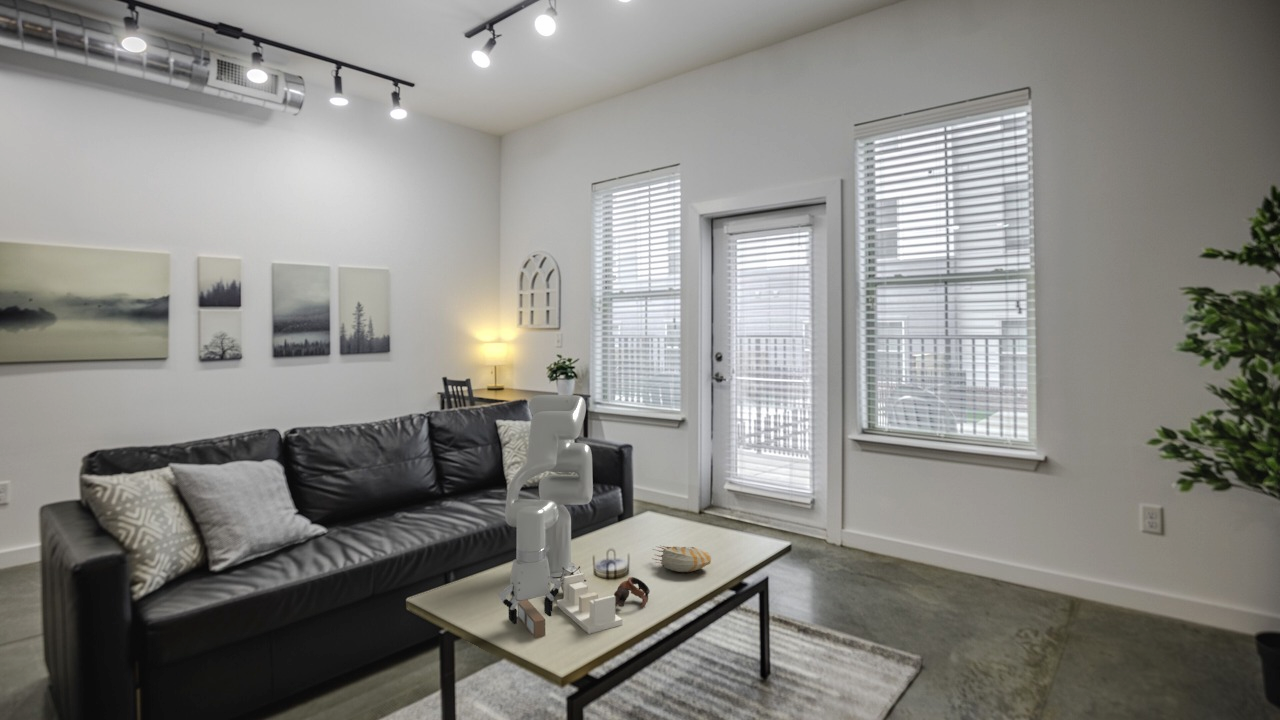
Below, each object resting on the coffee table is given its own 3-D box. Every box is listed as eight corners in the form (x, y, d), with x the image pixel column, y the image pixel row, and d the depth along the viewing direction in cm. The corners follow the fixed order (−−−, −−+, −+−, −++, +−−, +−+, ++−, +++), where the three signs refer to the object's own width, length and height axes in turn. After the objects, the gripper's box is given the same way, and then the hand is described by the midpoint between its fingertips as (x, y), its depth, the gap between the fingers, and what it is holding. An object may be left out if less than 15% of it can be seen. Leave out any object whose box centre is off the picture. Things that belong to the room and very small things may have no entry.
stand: (556, 605, 179) (556, 578, 178) (588, 598, 184) (588, 571, 184) (588, 633, 162) (588, 603, 161) (622, 624, 167) (622, 595, 167)
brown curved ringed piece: (621, 596, 187) (635, 573, 186) (643, 617, 182) (658, 594, 181) (599, 599, 177) (614, 575, 176) (622, 622, 172) (637, 597, 171)
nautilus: (640, 567, 210) (669, 559, 221) (690, 580, 195) (718, 570, 206) (640, 544, 210) (669, 536, 221) (690, 555, 196) (718, 546, 207)
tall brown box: (517, 617, 171) (517, 601, 171) (527, 615, 173) (527, 599, 173) (534, 639, 159) (534, 621, 159) (545, 636, 161) (545, 619, 160)
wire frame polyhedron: (564, 607, 187) (546, 577, 188) (586, 590, 192) (568, 561, 193) (574, 602, 179) (555, 572, 181) (597, 584, 184) (578, 555, 186)
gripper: (555, 545, 173) (555, 606, 173) (494, 555, 164) (494, 620, 164) (566, 552, 167) (566, 616, 167) (504, 564, 158) (504, 631, 158)
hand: (530, 618), depth 166 cm, fingers open, 9 cm apart
